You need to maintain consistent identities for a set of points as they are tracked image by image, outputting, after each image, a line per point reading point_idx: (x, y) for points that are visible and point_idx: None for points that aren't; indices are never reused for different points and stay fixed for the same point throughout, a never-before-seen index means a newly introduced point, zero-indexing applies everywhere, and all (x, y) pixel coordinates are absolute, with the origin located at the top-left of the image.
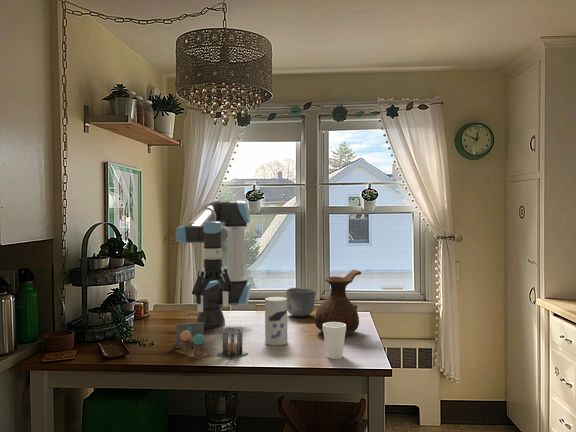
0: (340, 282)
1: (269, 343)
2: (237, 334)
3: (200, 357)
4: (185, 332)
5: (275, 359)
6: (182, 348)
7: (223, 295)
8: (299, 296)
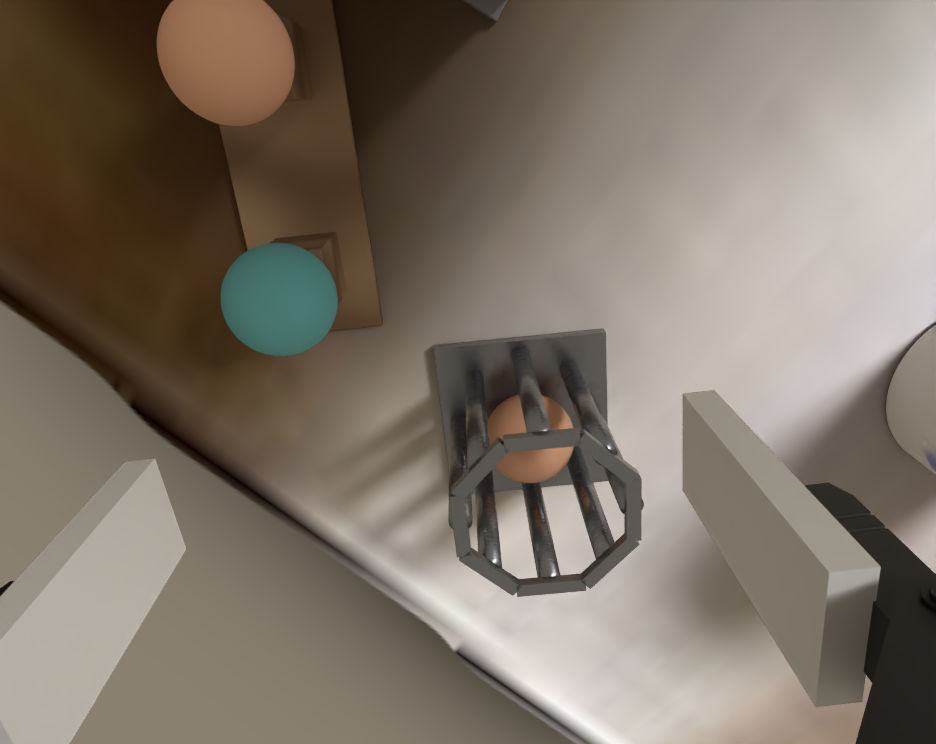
0: None
1: (892, 409)
2: (538, 577)
3: None
4: (189, 93)
5: (653, 642)
6: None
7: (771, 530)
8: None
